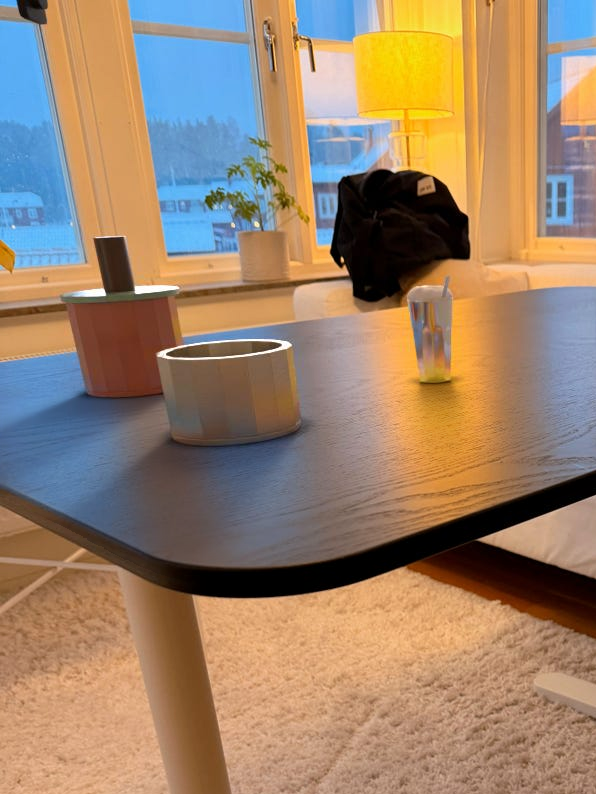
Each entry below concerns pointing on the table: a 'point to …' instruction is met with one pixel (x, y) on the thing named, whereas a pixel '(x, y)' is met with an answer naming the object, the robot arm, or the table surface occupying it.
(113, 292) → the lid
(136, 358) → the cup
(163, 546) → the table surface
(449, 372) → the milkshake
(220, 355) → the tin
